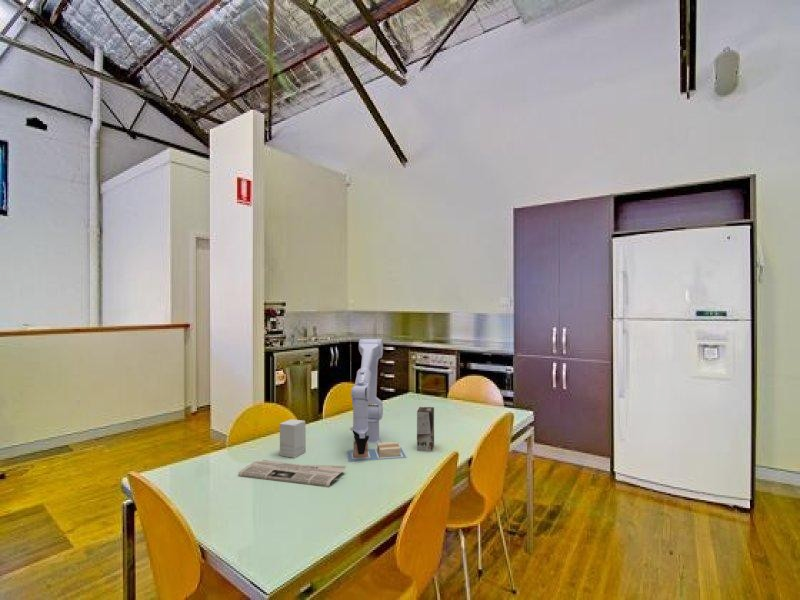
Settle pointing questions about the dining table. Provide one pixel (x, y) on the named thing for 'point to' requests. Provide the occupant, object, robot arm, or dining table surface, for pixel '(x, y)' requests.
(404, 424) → the dining table surface
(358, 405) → the robot arm
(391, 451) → the base block
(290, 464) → the newspaper
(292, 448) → the supplement box
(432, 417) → the coffee box
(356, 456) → the top block
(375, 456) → the blueprint board
